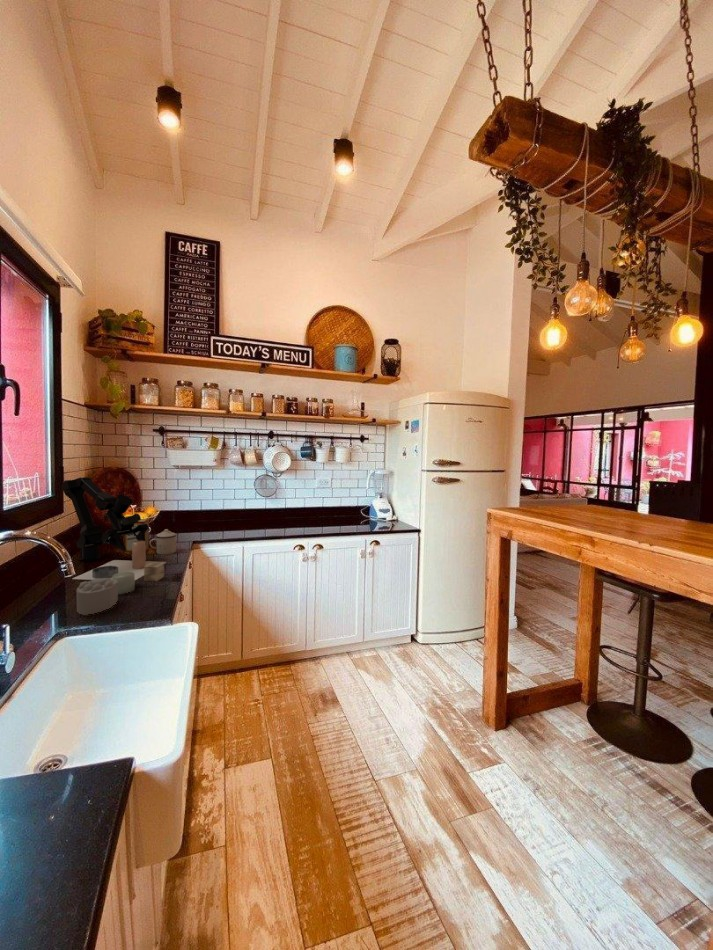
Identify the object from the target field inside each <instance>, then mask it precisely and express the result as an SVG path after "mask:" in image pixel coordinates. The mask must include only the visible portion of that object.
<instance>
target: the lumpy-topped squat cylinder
mask: <svg viewBox="0 0 713 950" xmlns="http://www.w3.org/2000/svg"><path fill="white" fill-rule="evenodd" d="M118 596H119V594H118V586H117V580H112V579H110V578H95V579H93V580H88V581H87V580H85V581H84V580H83V581H82V583H79V585H78V587H77V588H76V612H78V613H79V614H78V613H77V614H78V615H80V614H82V615H81V616H89V615H88V614H93V615H95V614H94V613H97V612H101V611H103V610H106V609H109V608H111V607H112V606H113V605H115V604H116V605H117V603H118V602H119V600H118ZM117 601H118V602H117ZM116 602H117V603H116ZM116 605H115V606H116ZM113 607H114V606H113ZM113 607H112V608H113ZM112 608H111V609H112ZM109 610H110V609H109ZM106 611H107V610H106ZM101 613H102V612H101ZM97 614H98V613H97Z"/></svg>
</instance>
